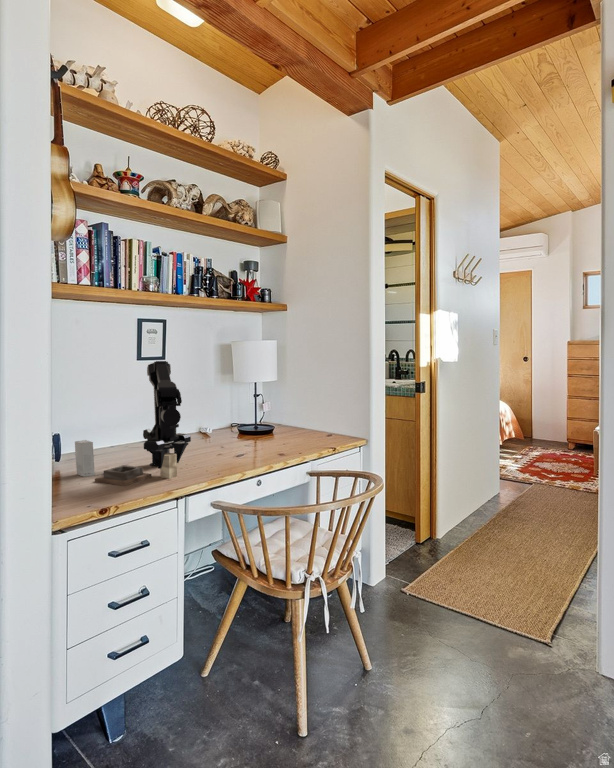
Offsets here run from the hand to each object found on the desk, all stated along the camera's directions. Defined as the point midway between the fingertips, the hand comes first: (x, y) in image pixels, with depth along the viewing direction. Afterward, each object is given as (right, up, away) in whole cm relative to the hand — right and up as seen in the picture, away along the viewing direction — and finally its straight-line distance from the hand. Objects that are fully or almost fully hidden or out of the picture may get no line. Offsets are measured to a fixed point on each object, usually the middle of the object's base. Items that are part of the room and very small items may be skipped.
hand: (168, 465), depth 174 cm
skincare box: (-31, -4, +3) cm, 31 cm away
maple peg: (0, -4, 0) cm, 4 cm away
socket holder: (-15, -4, -3) cm, 15 cm away
